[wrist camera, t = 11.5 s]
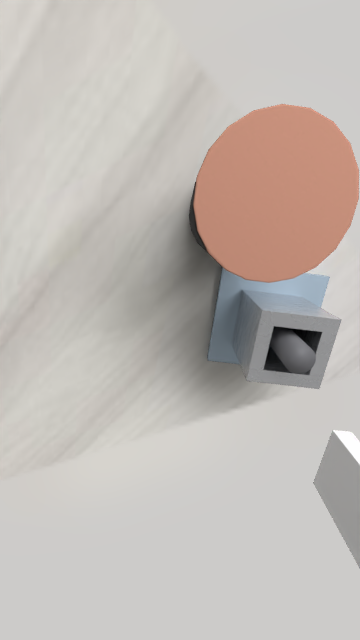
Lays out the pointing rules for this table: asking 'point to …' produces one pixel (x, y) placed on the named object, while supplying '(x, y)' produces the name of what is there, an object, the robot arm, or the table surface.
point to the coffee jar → (275, 193)
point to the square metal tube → (256, 332)
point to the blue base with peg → (282, 339)
